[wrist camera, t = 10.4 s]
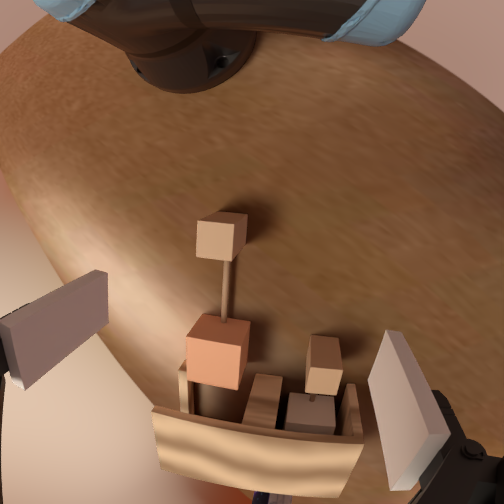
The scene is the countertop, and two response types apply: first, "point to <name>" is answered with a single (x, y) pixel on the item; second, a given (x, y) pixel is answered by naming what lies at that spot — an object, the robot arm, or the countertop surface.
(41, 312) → the robot arm
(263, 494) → the beverage can
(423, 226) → the countertop surface
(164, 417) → the shelf
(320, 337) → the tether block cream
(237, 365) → the tether block terracotta
